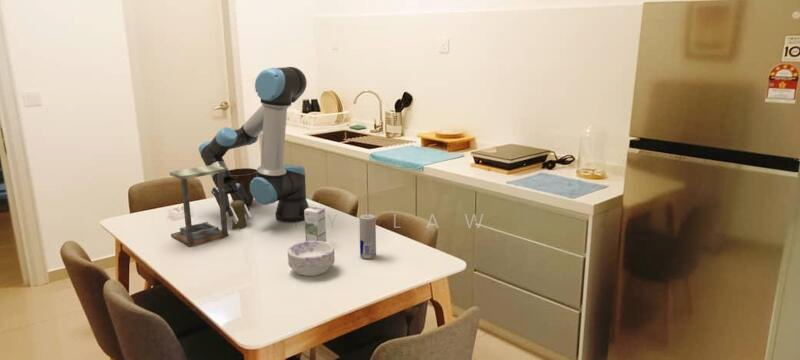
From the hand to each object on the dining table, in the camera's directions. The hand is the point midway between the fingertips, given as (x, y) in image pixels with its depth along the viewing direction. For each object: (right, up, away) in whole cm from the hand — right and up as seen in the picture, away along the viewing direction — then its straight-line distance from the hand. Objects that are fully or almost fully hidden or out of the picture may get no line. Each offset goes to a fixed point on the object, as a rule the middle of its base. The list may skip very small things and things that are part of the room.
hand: (243, 220), depth 224 cm
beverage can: (+52, -11, -29) cm, 61 cm away
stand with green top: (-15, -6, -8) cm, 18 cm away
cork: (-3, -3, +3) cm, 5 cm away
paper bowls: (+34, -14, -40) cm, 55 cm away
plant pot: (-10, +5, +34) cm, 35 cm away
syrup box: (+32, -8, -18) cm, 38 cm away
